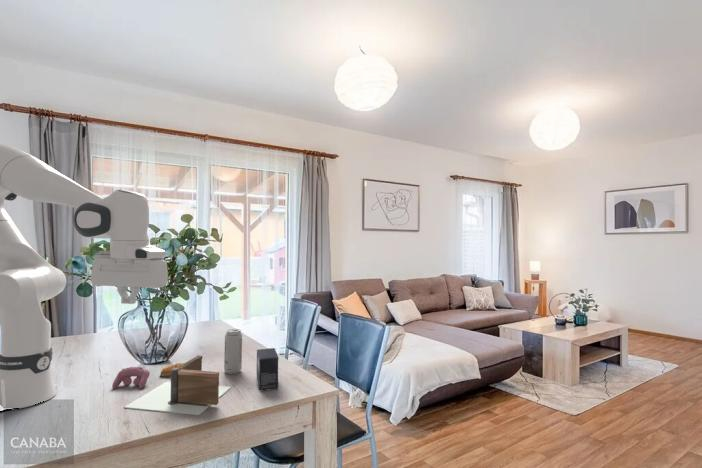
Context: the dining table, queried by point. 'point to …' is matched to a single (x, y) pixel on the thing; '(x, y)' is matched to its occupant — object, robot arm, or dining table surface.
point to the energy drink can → (233, 351)
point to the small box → (267, 369)
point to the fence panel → (198, 386)
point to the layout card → (161, 401)
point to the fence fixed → (189, 365)
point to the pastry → (169, 370)
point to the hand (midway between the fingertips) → (128, 303)
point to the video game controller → (128, 373)
